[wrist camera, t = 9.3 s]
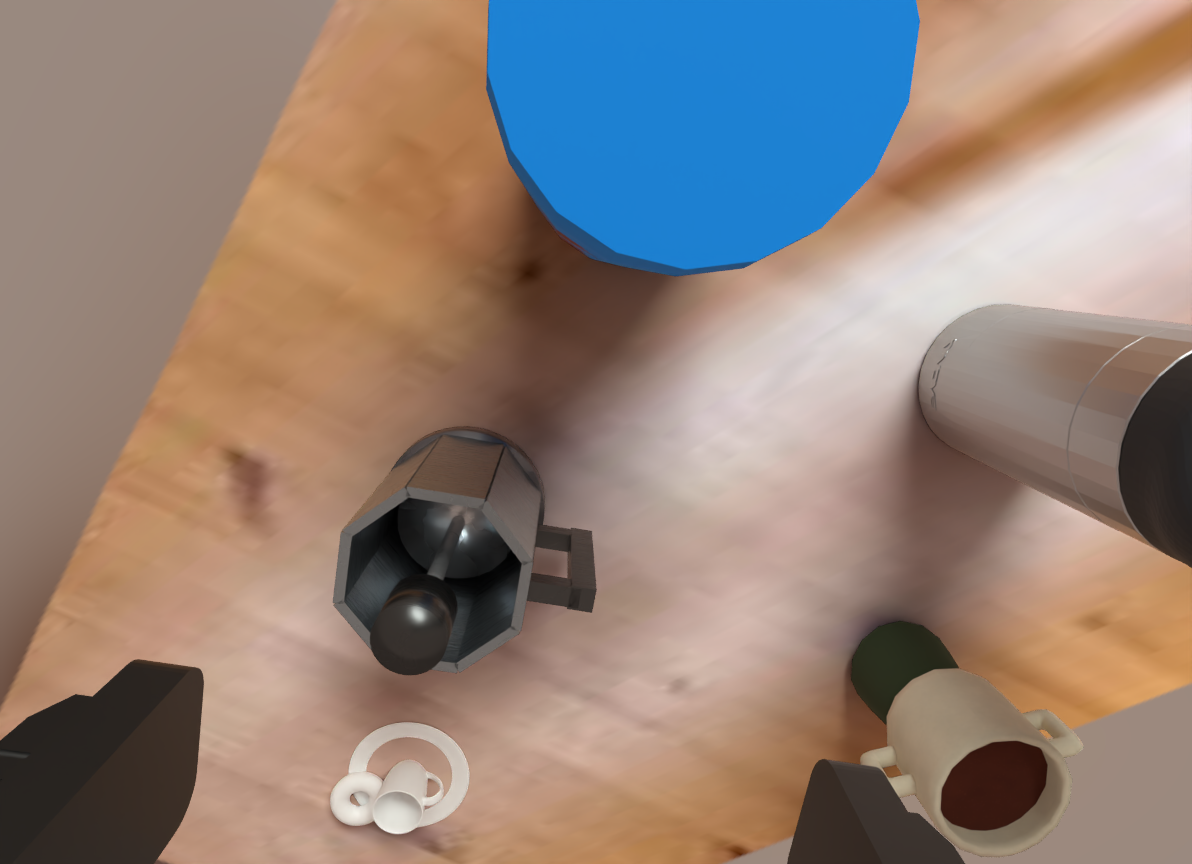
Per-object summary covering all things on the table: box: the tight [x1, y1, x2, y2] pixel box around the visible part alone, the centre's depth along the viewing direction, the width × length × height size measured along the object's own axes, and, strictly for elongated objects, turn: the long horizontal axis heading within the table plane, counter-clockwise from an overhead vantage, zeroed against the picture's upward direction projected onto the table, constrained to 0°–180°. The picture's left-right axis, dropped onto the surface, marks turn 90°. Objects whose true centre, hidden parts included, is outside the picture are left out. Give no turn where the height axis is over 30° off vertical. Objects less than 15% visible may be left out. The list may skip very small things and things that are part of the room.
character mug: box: [851, 621, 1083, 857], centre depth 44 cm, size 11×7×13 cm, turn 104°
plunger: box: [370, 498, 511, 675], centre depth 37 cm, size 7×7×14 cm
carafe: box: [333, 427, 596, 673], centre depth 41 cm, size 12×10×12 cm
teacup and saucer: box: [330, 722, 470, 834], centre depth 49 cm, size 9×8×4 cm
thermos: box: [486, 0, 920, 276], centre depth 31 cm, size 11×11×25 cm
